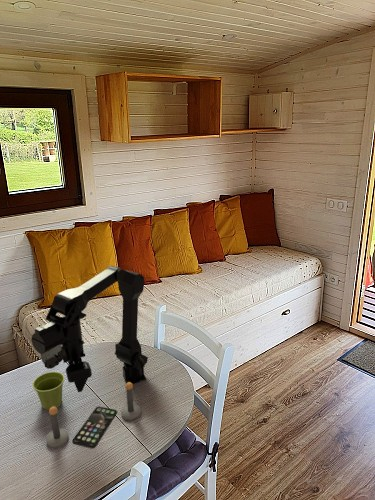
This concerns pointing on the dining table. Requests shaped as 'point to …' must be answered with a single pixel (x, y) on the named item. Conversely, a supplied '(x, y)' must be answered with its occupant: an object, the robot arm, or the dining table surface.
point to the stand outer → (56, 432)
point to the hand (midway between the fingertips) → (77, 382)
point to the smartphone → (94, 427)
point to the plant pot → (49, 389)
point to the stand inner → (130, 405)
